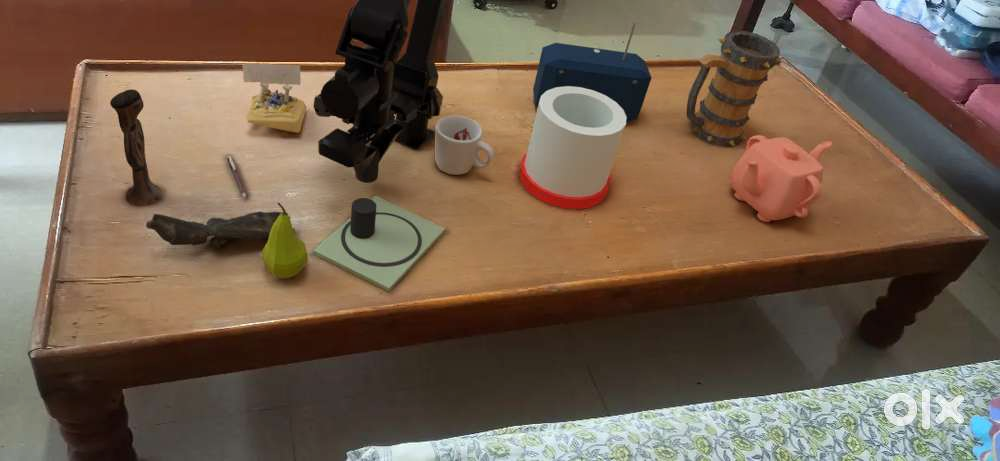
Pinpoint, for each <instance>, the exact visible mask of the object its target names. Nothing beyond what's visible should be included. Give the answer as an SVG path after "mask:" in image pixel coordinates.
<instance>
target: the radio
mask: <svg viewBox="0 0 1000 461" xmlns="http://www.w3.org/2000/svg"><path fill="white" fill-rule="evenodd" d="M636 24H637V22H633V24H632V26H631V30H630V32H629V37H628V40H627V44H626V46H625V49H624V51H619V50H612V49H605V48H597V47H590V46H583V45H575V44H569V43H560V42H553V43H551V44H548V45H545V46H543V47H542V48H541V53H540V56H539V57H540V58H539V61H538V66H537V70H536V75H535V80H534V84H533V88H532V93H533V99H534V106H535V108H537V109H538V105H539V101H540V98H541V95H543V94H544V93H545V92H546V91H547V90H550V89H553V88H556V87H565V86H571V87H581V88H585V89H590V90H594V91H596V92H598V93H601V94H603V95H606V96H607V97H609V98H610V99H612V100H613V101H615V102H616V103H617V104H618V105H619V106H620V107H621V108H622V109H623V110H624V113H625V115H626V117H627V118H626V124H629V123H631V122H634V121H637V120H639V116H640V113H641V111H642V107H643V105H644V101H645V99H646V96H647V93H648V90H649V87H650V85H651V82H652V75H651V72H650V69H649V67H648V64H647V62H646V60H644V59H643V58H642V57H640V55H639V54H637V53H633V52H628V50H629V47H630V43H631V40H632V37H633V34H634V30H635V27H636Z"/></svg>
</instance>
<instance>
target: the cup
mask: <svg viewBox="0 0 1000 461" xmlns="http://www.w3.org/2000/svg"><path fill="white" fill-rule="evenodd" d="M434 128H435V129H434V162H435V164H436V166H437V168H438V169H439V170H441V171H442V172H443V173H445V174H449V175H453V176H460V175H464V174H466V173H468V172H470V170H471V169H472V168H473V166H474V167H476V168H479V169H486V168H488V167H489V166H490V165H491V164H492V162H493V160H494V155H495V154H494V149H493V147H492V146H490V144H488V143H487V142H485V141H483V139H482V138H483V128H482V126H481V125H480V124H479V123H478V122H477V121H475V120H474V119H472V118H470V117H467V116H463V115H457V114H456V115H454V114H452V115H446V116H443V117H441V118H440V119H438V120H437V121H436V122H435V127H434ZM480 151H484V152H485V153H486V155H487V159H486V161H483V160H481V159H480V157H479V153H480Z"/></svg>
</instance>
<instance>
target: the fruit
mask: <svg viewBox="0 0 1000 461" xmlns="http://www.w3.org/2000/svg"><path fill="white" fill-rule="evenodd" d="M277 205H278V206H279V207H280V208H281V210H282V212H283V213H281V214H280V215H279V216H278V218H277V220H276V221H275V222H274V224H273V226H272V228H271V231H270V234H269V238H268V237H267V242H266V243H265V245H264V247H263V249H262V251H261V259H262V261H263V265H264V268H265V270H267V271H268V272H270V273H271V274H272V275H273V276H274V277H275V278H280V279H290V278H291V277H293V276H296V275H297V274H299V273H300V272H301V270H302V269H303V268H304V267H305V266H306V264H307V262H308V261H309V260H308V259H309V255H308V250H307V247H306V244H305V242H304V241H303V240H301V239H300V238H299V237H298V236H297V234H296V231H295V232H294V230H293V228H294V227H293V225H292V222H291V217H290V216H289V213H288V212H287V211H286V209H285V208H284V206H283V205H282V204H281V203H280V202H277ZM287 213H288V214H287ZM289 217H290V218H289Z"/></svg>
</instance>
